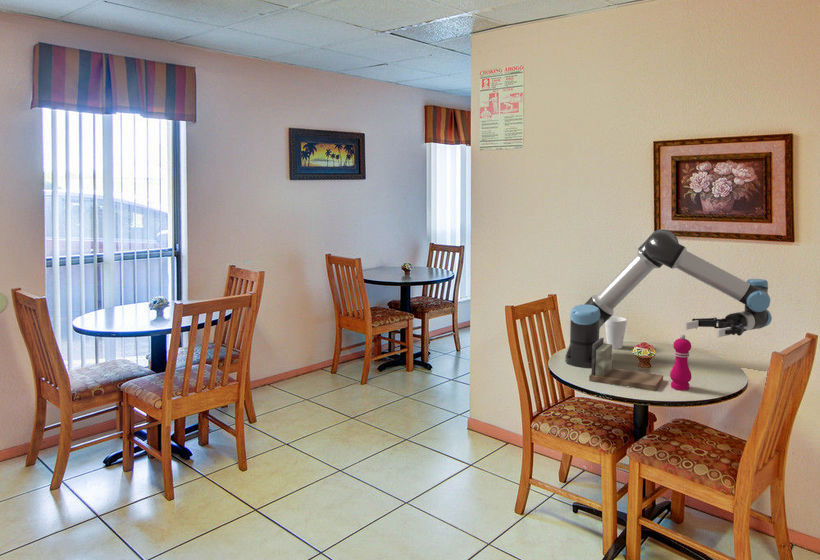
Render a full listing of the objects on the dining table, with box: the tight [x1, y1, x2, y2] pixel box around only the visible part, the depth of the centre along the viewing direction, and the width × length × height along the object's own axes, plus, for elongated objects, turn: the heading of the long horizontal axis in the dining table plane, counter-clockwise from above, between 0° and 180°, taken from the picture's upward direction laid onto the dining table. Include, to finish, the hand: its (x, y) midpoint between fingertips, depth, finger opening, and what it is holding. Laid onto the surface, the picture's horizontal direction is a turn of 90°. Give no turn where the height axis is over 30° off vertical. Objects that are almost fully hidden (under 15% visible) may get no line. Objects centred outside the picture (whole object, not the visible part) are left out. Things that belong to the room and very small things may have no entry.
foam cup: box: [604, 316, 628, 350], centre depth 287 cm, size 10×9×13 cm
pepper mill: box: [669, 334, 692, 391], centre depth 231 cm, size 7×7×20 cm
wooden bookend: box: [588, 337, 664, 392], centre depth 240 cm, size 24×14×14 cm, turn 58°
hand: (701, 329), depth 233 cm, fingers open, 13 cm apart
